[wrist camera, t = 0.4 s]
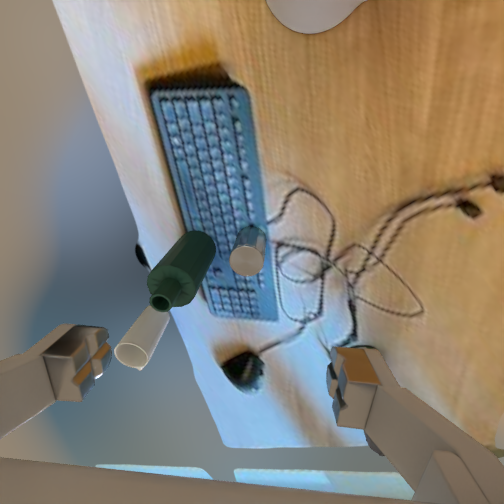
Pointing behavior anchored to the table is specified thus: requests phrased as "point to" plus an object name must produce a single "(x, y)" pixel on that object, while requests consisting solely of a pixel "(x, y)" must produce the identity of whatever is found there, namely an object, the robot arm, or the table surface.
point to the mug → (142, 338)
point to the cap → (248, 251)
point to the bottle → (181, 271)
